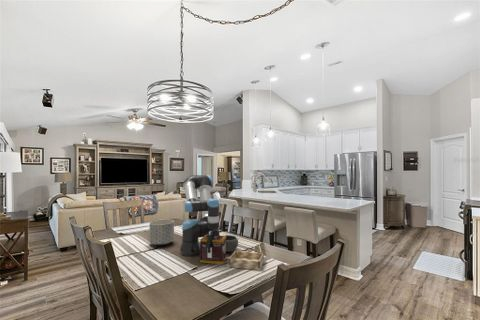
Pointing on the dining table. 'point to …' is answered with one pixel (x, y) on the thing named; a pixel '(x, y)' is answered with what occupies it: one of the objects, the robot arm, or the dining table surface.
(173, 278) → the dining table surface
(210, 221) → the robot arm
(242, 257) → the crate
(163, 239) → the planter
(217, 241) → the supplement box
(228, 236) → the bowl
